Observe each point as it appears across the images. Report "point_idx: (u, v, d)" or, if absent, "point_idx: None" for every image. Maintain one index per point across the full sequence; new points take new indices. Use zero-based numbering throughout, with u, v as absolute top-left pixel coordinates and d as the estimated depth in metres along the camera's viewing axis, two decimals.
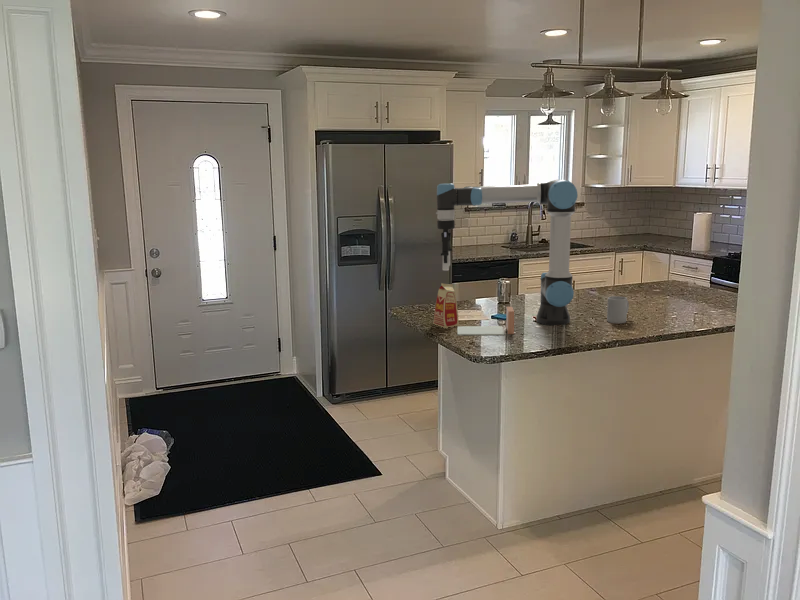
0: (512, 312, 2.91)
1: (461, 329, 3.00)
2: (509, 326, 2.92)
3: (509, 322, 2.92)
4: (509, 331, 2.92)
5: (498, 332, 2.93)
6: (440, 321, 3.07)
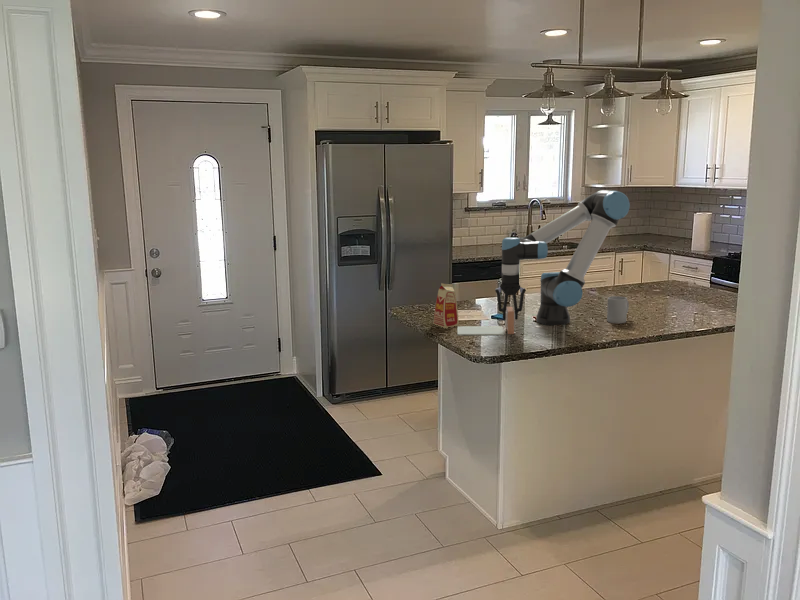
0: (512, 312, 2.91)
1: (461, 329, 3.00)
2: (509, 326, 2.92)
3: (509, 322, 2.92)
4: (509, 331, 2.92)
5: (498, 332, 2.93)
6: (440, 321, 3.07)
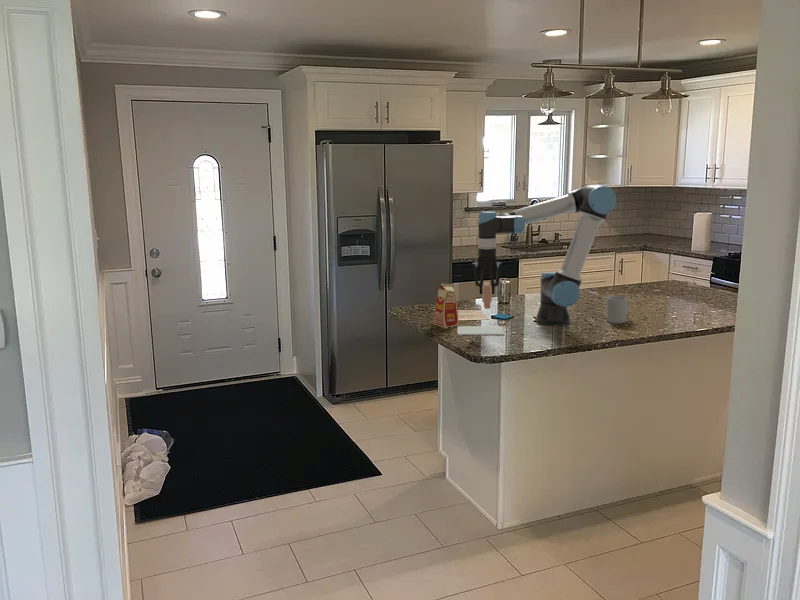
0: (488, 286, 2.89)
1: (461, 329, 3.00)
2: (485, 300, 2.91)
3: (485, 296, 2.90)
4: (485, 305, 2.91)
5: (498, 332, 2.93)
6: (440, 321, 3.07)
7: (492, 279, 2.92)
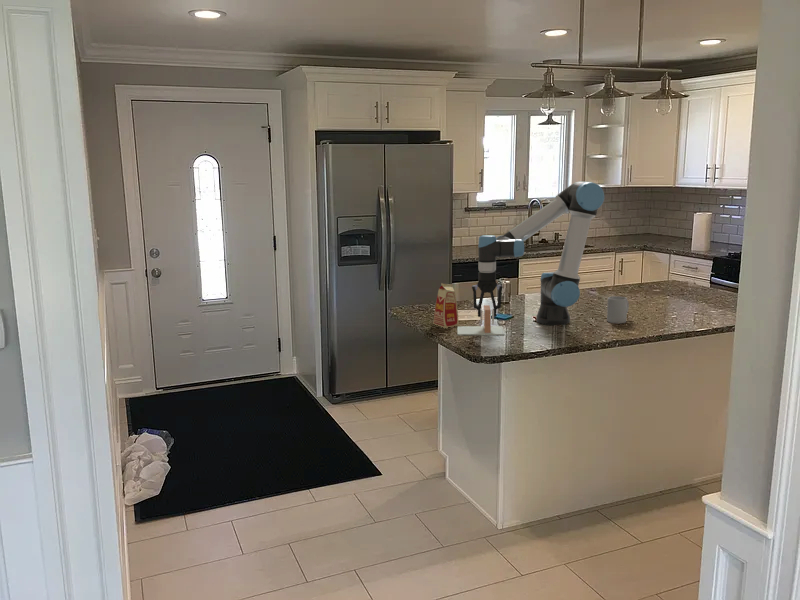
0: (489, 311, 2.91)
1: (461, 329, 3.00)
2: (486, 325, 2.93)
3: (486, 321, 2.92)
4: (486, 330, 2.93)
5: (498, 332, 2.93)
6: (440, 321, 3.07)
7: (494, 302, 2.94)
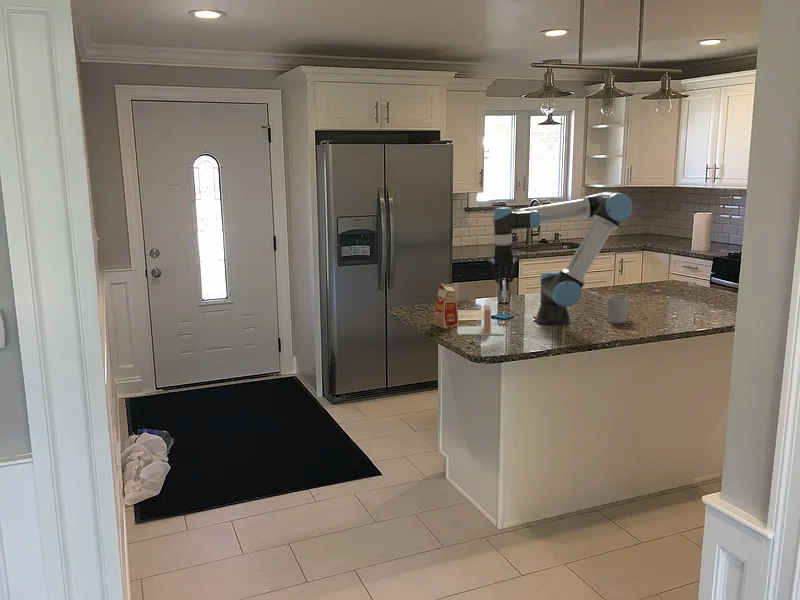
0: (489, 311, 2.91)
1: (461, 329, 3.00)
2: (486, 325, 2.93)
3: (486, 321, 2.92)
4: (486, 330, 2.93)
5: (498, 332, 2.93)
6: (440, 321, 3.07)
7: (507, 275, 2.92)
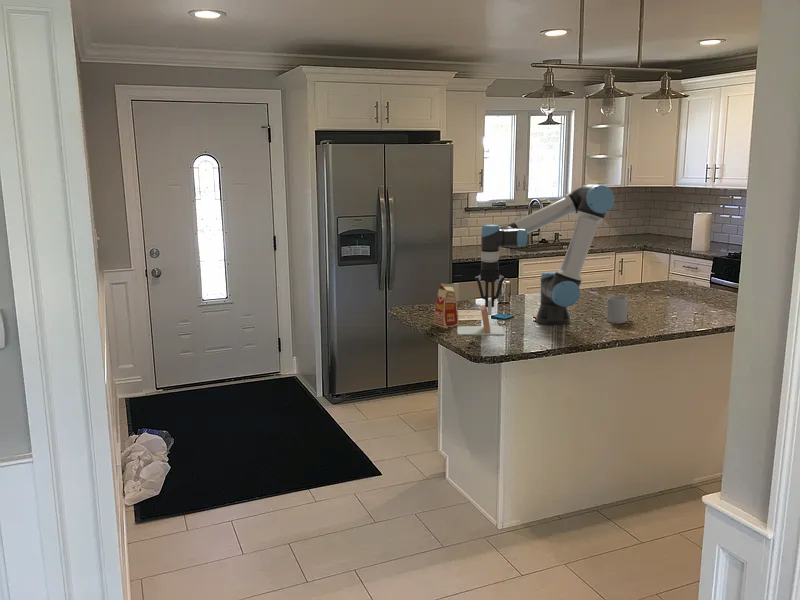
0: (485, 310, 2.92)
1: (461, 329, 3.00)
2: (484, 324, 2.93)
3: (484, 321, 2.92)
4: (485, 329, 2.93)
5: (498, 332, 2.93)
6: (440, 321, 3.07)
7: (493, 292, 2.94)
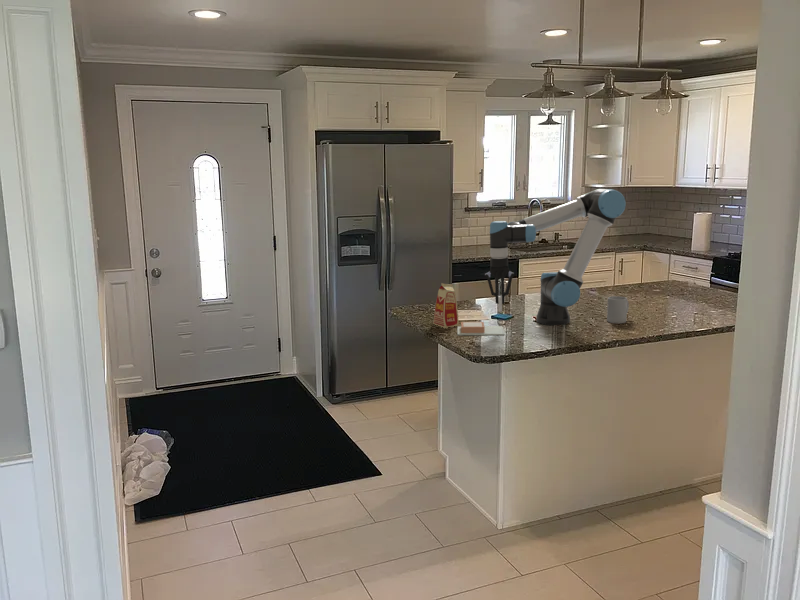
0: (462, 328, 2.94)
1: None
2: (476, 331, 2.94)
3: (472, 331, 2.94)
4: (481, 331, 2.93)
5: (498, 332, 2.93)
6: (440, 321, 3.07)
7: (503, 288, 2.93)
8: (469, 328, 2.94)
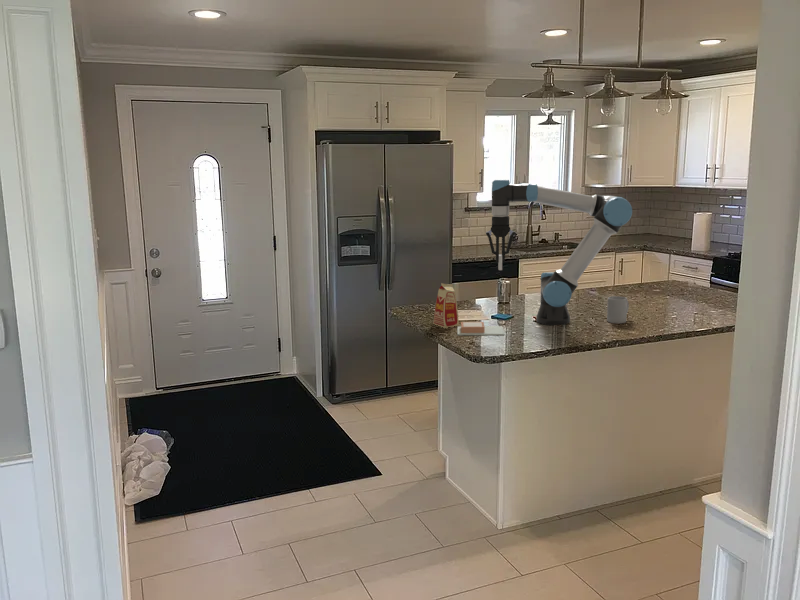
0: (462, 328, 2.94)
1: None
2: (476, 331, 2.94)
3: (472, 331, 2.94)
4: (481, 331, 2.93)
5: (498, 332, 2.93)
6: (440, 321, 3.07)
7: (503, 247, 2.95)
8: (469, 328, 2.94)
